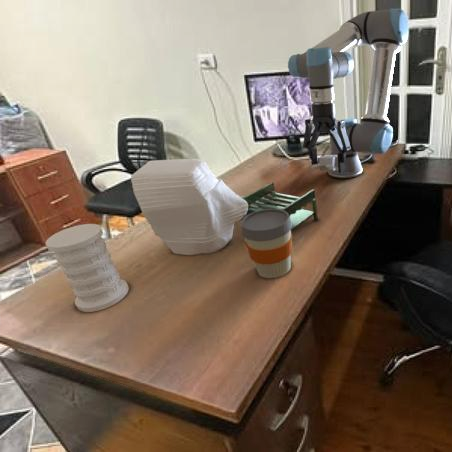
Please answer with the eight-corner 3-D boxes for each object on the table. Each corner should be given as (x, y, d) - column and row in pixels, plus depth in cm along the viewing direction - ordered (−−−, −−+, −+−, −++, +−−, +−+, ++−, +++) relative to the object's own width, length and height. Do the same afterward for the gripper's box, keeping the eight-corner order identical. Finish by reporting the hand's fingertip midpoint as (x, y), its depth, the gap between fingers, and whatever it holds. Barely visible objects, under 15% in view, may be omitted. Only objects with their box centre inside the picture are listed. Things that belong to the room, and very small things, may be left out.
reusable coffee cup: (256, 256, 100) (247, 209, 93) (299, 254, 100) (293, 207, 93) (245, 283, 89) (233, 232, 82) (294, 281, 89) (286, 229, 82)
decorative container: (131, 299, 87) (103, 236, 78) (76, 319, 82) (41, 254, 73) (126, 277, 96) (101, 218, 87) (77, 293, 90) (45, 233, 82)
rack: (276, 210, 127) (271, 182, 122) (318, 219, 118) (314, 189, 113) (245, 230, 115) (239, 199, 110) (289, 241, 107) (284, 209, 101)
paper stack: (180, 229, 119) (157, 155, 107) (255, 231, 114) (240, 154, 102) (140, 265, 101) (107, 181, 88) (228, 268, 96) (205, 180, 84)
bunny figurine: (347, 152, 124) (335, 160, 111) (347, 166, 126) (335, 176, 113) (321, 152, 127) (307, 160, 113) (322, 165, 129) (308, 175, 115)
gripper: (286, 103, 113) (295, 169, 123) (348, 105, 102) (351, 177, 112) (300, 99, 118) (307, 162, 129) (360, 100, 107) (362, 169, 118)
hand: (328, 169), depth 121 cm, fingers closed on bunny figurine, 10 cm apart
